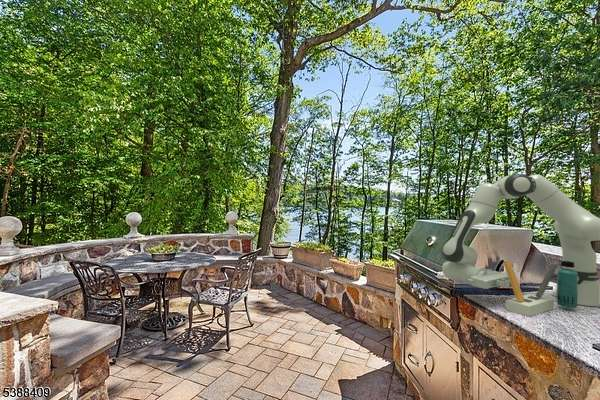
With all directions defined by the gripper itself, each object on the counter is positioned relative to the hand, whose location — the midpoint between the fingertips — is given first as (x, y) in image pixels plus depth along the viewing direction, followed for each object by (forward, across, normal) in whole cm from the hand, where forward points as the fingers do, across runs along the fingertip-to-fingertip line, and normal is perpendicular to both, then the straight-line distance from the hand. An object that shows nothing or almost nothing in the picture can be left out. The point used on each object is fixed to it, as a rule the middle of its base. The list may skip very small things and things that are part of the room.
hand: (511, 285), depth 119 cm
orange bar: (+4, 0, +6) cm, 7 cm away
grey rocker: (+4, +14, +6) cm, 16 cm away
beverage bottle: (+11, +21, +10) cm, 26 cm away
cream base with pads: (+4, +7, +10) cm, 13 cm away
